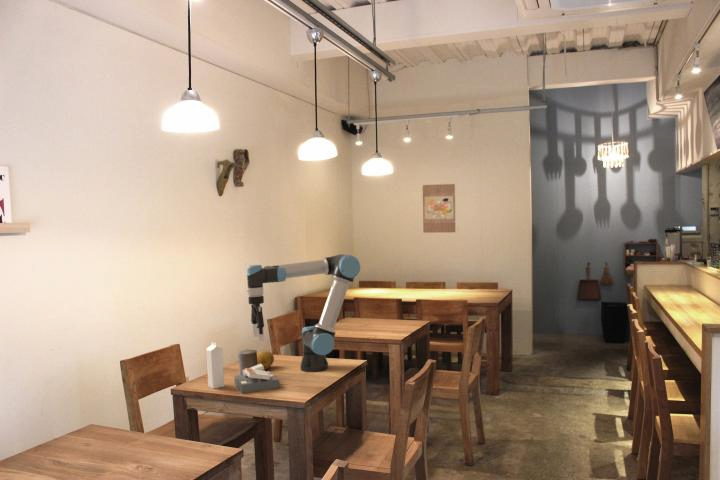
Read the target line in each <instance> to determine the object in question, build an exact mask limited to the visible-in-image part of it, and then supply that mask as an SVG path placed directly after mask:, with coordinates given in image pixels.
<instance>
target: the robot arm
mask: <svg viewBox="0 0 720 480" xmlns="http://www.w3.org/2000/svg"><path fill="white" fill-rule="evenodd" d="M360 271H361V263H360V261H359V259H358V258H357V257H355V256H354V255H352V254H336V255H332V256H328V257H326V256H325V257H323V258H322V259H318V260H310V261H301V262H293V263H286V264H278V265H266V266H264V267H263V266H262V265H261V264H253V265H252V264H251V265H248V266H247V267H246V280H247V290H246V291H247V294H248V295H247V296H248V305H250V306H251V312H250V313H251V314H250V315H251V317H250V319H251V321H250V322H251V325H252V327H251V328H252V338H257V340H258V341H257V342H262V341H265V336H264V334H265V333H264V327H265V322H264V315H263V307H262V306H261V304H263V303H264V302H265V299H264V298H265V297H264V284H270V283H283V282H286V280H287V279H292V278H300V277H307V276H315V275H323V274H324V275H325V276H330V275H331V277H332V280H333V281H332V283H331V286H330V289H329V292H328V295H327V298H326V301H325V304H324V307H323V310H322V312H321V316H320V318H319V320H318V323H316V324H314V325H313V326H305V327H302V329H301V337H302V339H301V341H302V342H301V343H302V358H301V362H300V366H299V367H300V371H302V372H303V371H304V372H310V373H311V372H321V371H324V370H325V371H326V370H327V369H328V368H329V361H328V359H327V356H326V355H329V354H330V353H331V352H332V351H333V350H334V349H335V336H336V333H337V332H336V330H335V326H336V324H337V320H338V317H339V315H340V312H341V309H342V306H343V304H344V301H345V299H346V294H347V291H348V289H349V286H350V285H352V284H353V283H354V281H355V278H356V277H357V276H358V275H359V273H360Z"/></svg>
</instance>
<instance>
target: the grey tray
mask: <svg viewBox="0 0 720 480" xmlns="http://www.w3.org/2000/svg"><path fill="white" fill-rule="evenodd" d="M266 372H267V373H268V374H269V375H270V379H269V380H267V379H258V378H249V377H248V376H246V377H245V376H244V375H234V377H233V379H234V385H235V386H236V388H237V389H238V391H239V392H240V393H241V394H247V393H253V392H259V391H267V390H274V389H279V388H280V384H279V378H277V377H276V376H275V375H274V374H273V373H272V372H271V371H266Z"/></svg>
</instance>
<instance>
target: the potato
mask: <svg viewBox="0 0 720 480" xmlns="http://www.w3.org/2000/svg"><path fill="white" fill-rule="evenodd" d="M274 362H275V357H274V355H273V353H272V352H271V351H270V350H267V349H265V350H264V349H263V350H260V351H259V352H257V365H259V364H262V365H263V367H264V370H263V371H266V370H268V369H269V368H271V366H272V365H273V364H274Z"/></svg>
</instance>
